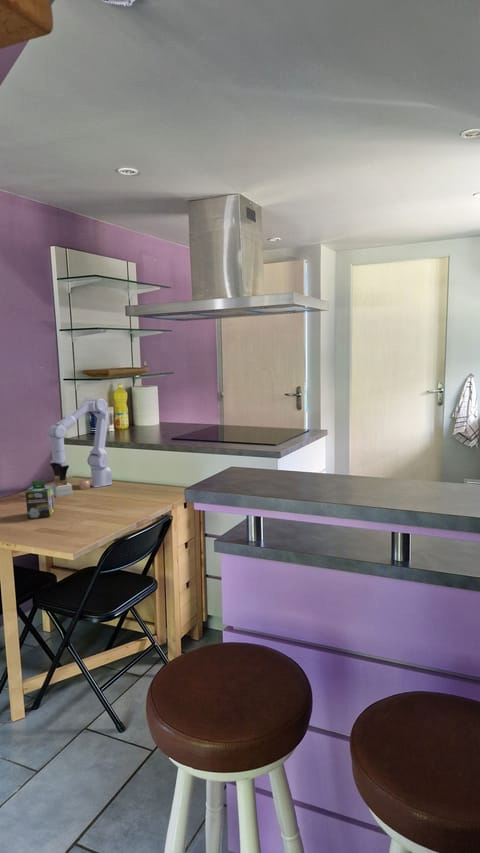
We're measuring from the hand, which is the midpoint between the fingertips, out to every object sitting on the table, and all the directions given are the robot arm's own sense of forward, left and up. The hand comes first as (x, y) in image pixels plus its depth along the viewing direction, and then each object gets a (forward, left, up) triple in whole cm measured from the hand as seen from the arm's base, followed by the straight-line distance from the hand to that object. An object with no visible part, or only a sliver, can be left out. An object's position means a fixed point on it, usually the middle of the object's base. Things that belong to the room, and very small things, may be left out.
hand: (60, 478), depth 256 cm
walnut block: (0, 0, -3) cm, 3 cm away
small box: (0, 0, -8) cm, 8 cm away
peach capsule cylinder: (-13, -5, -8) cm, 16 cm away
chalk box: (+17, +28, -8) cm, 34 cm away
